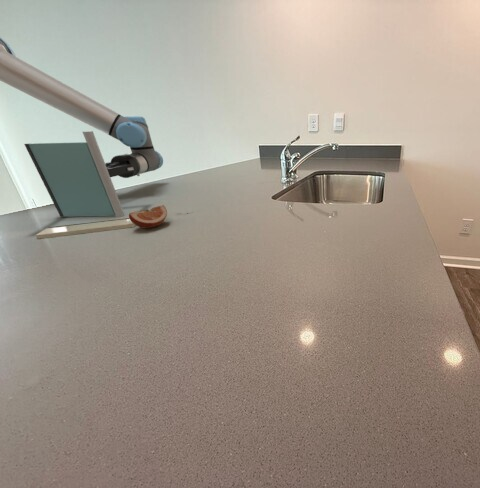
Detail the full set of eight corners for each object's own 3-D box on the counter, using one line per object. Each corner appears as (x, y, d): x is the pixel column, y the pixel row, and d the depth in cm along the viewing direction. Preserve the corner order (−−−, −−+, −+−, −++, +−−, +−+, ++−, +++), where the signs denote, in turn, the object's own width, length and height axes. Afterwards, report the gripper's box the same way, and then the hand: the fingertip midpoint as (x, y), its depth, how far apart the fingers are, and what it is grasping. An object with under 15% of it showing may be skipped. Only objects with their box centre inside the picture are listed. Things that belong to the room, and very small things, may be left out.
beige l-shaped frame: (37, 239, 62) (-21, 135, 52) (71, 217, 75) (30, 132, 65) (133, 227, 67) (98, 131, 57) (149, 209, 81) (122, 129, 71)
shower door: (60, 216, 72) (24, 143, 63) (87, 206, 80) (59, 141, 72) (114, 215, 72) (84, 142, 63) (136, 205, 80) (112, 139, 72)
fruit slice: (163, 219, 72) (157, 202, 70) (176, 224, 69) (171, 206, 66) (130, 229, 66) (122, 211, 64) (142, 235, 62) (135, 215, 60)
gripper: (152, 175, 93) (101, 192, 72) (112, 176, 93) (49, 193, 72) (146, 153, 90) (89, 164, 68) (104, 154, 90) (35, 165, 69)
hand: (69, 179), depth 70 cm, fingers closed on shower door, 2 cm apart
